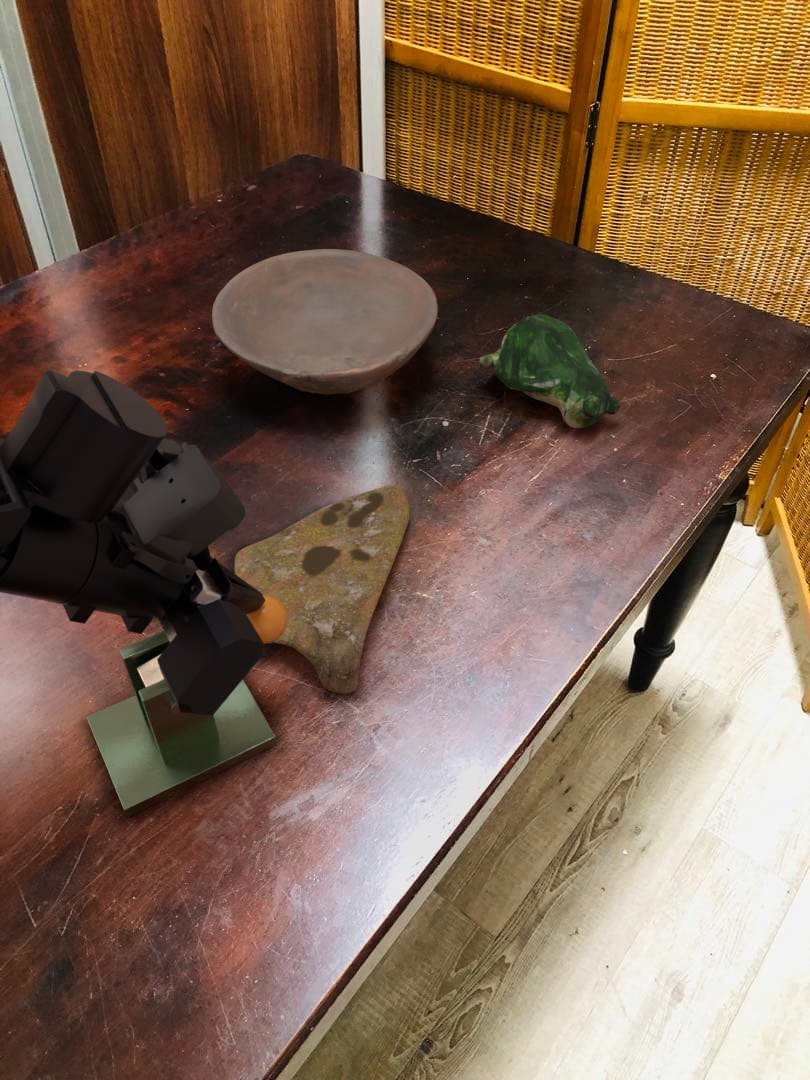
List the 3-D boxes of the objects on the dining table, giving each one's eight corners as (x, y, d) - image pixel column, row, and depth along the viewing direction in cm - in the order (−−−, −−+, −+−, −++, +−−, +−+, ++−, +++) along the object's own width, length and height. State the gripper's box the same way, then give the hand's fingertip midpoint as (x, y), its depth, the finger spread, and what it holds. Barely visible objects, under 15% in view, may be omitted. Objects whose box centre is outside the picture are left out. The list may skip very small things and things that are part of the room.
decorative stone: (359, 702, 71) (352, 659, 68) (189, 677, 75) (174, 635, 72) (431, 518, 89) (427, 478, 86) (292, 506, 93) (283, 467, 90)
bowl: (398, 296, 114) (399, 234, 107) (465, 413, 98) (471, 348, 91) (204, 324, 108) (194, 261, 102) (242, 454, 92) (233, 388, 86)
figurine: (459, 369, 98) (548, 447, 91) (492, 297, 94) (588, 374, 86) (536, 369, 107) (623, 441, 100) (570, 304, 103) (663, 374, 95)
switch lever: (280, 603, 68) (267, 577, 65) (301, 635, 66) (288, 610, 63) (148, 680, 65) (129, 656, 63) (166, 716, 63) (146, 693, 60)
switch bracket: (230, 662, 74) (215, 586, 67) (276, 744, 69) (266, 672, 62) (89, 724, 69) (57, 650, 62) (127, 817, 64) (96, 749, 57)
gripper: (208, 557, 44) (395, 609, 56) (92, 362, 55) (270, 442, 67) (89, 711, 47) (291, 729, 59) (1, 497, 57) (188, 550, 70)
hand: (260, 601), depth 63 cm, fingers closed, pressing on switch lever
